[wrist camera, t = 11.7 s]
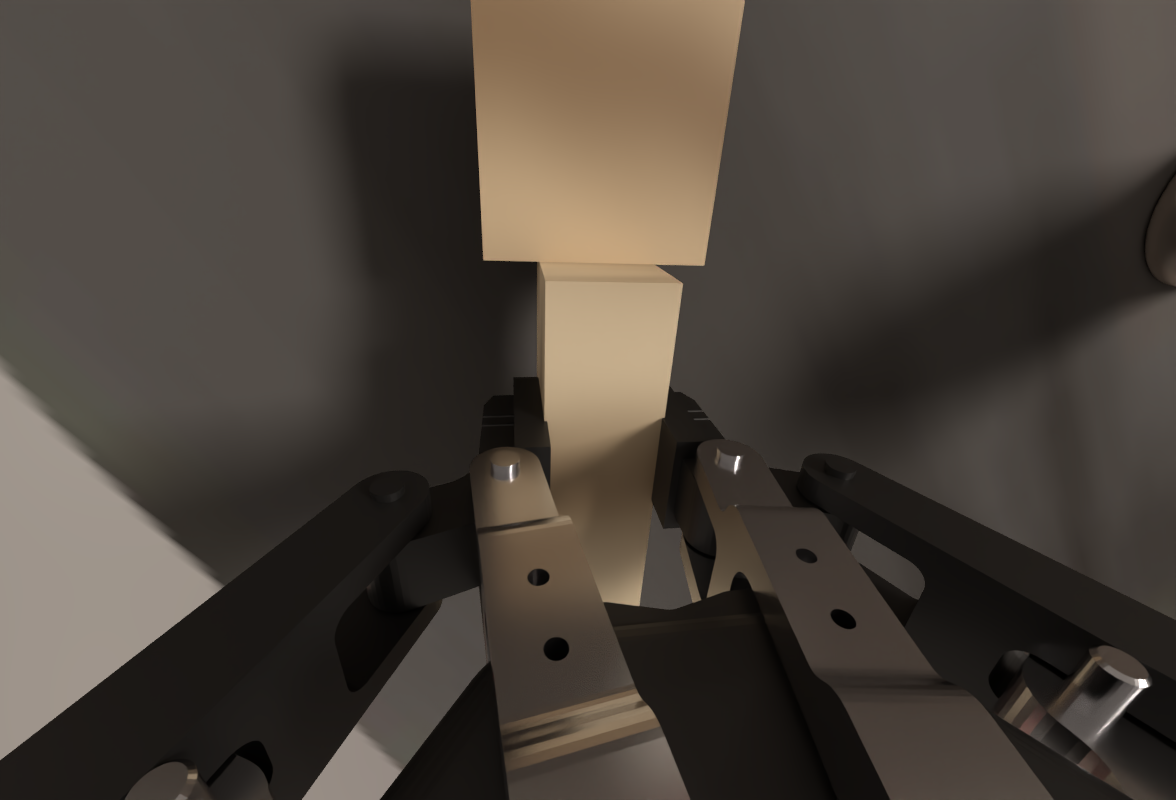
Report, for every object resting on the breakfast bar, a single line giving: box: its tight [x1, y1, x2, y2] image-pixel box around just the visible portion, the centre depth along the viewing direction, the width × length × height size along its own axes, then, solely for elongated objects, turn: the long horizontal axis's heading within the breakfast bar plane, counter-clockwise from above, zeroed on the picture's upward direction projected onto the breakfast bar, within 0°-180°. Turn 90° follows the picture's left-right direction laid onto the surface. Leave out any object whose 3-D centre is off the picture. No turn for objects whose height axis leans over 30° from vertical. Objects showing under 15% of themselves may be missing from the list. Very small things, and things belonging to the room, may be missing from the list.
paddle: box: [471, 0, 745, 606], centre depth 11 cm, size 16×5×3 cm, turn 177°
